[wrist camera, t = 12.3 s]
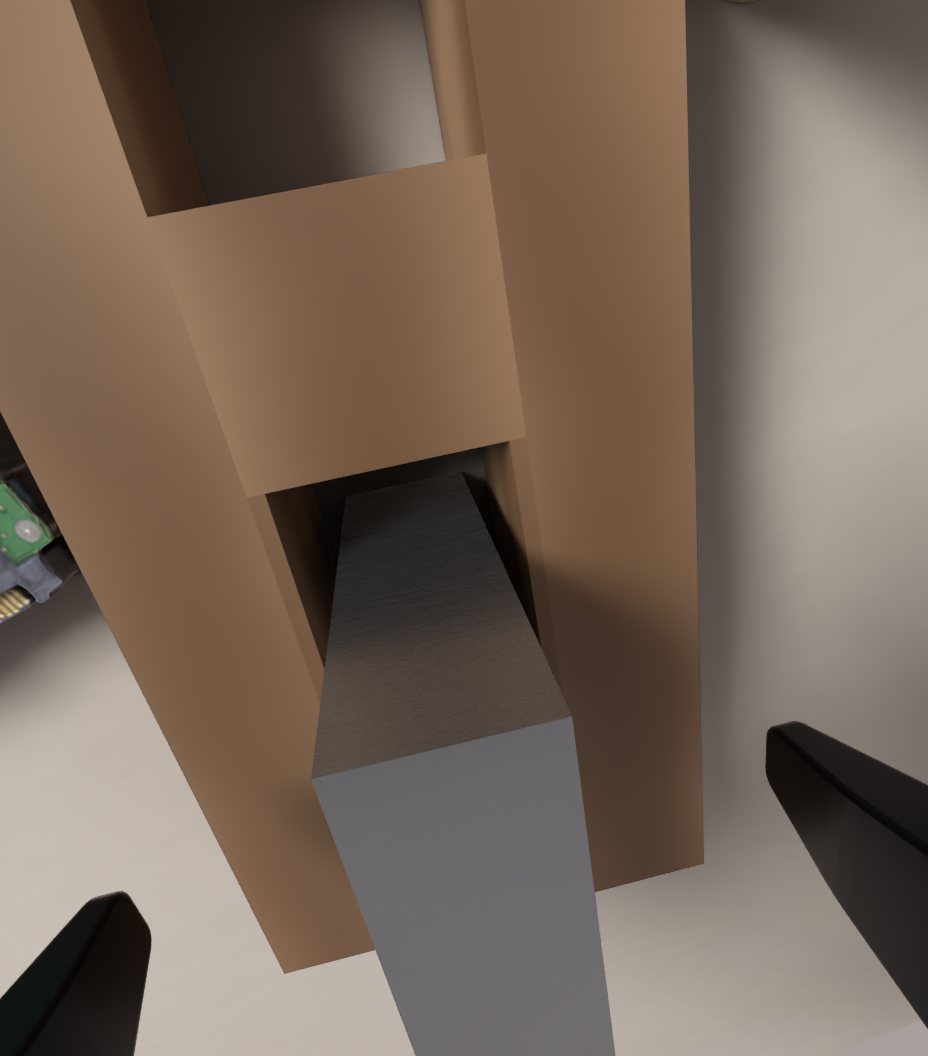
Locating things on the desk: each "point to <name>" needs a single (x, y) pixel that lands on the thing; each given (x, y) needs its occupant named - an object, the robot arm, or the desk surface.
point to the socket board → (367, 400)
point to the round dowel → (742, 0)
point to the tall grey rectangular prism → (457, 786)
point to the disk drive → (27, 537)
